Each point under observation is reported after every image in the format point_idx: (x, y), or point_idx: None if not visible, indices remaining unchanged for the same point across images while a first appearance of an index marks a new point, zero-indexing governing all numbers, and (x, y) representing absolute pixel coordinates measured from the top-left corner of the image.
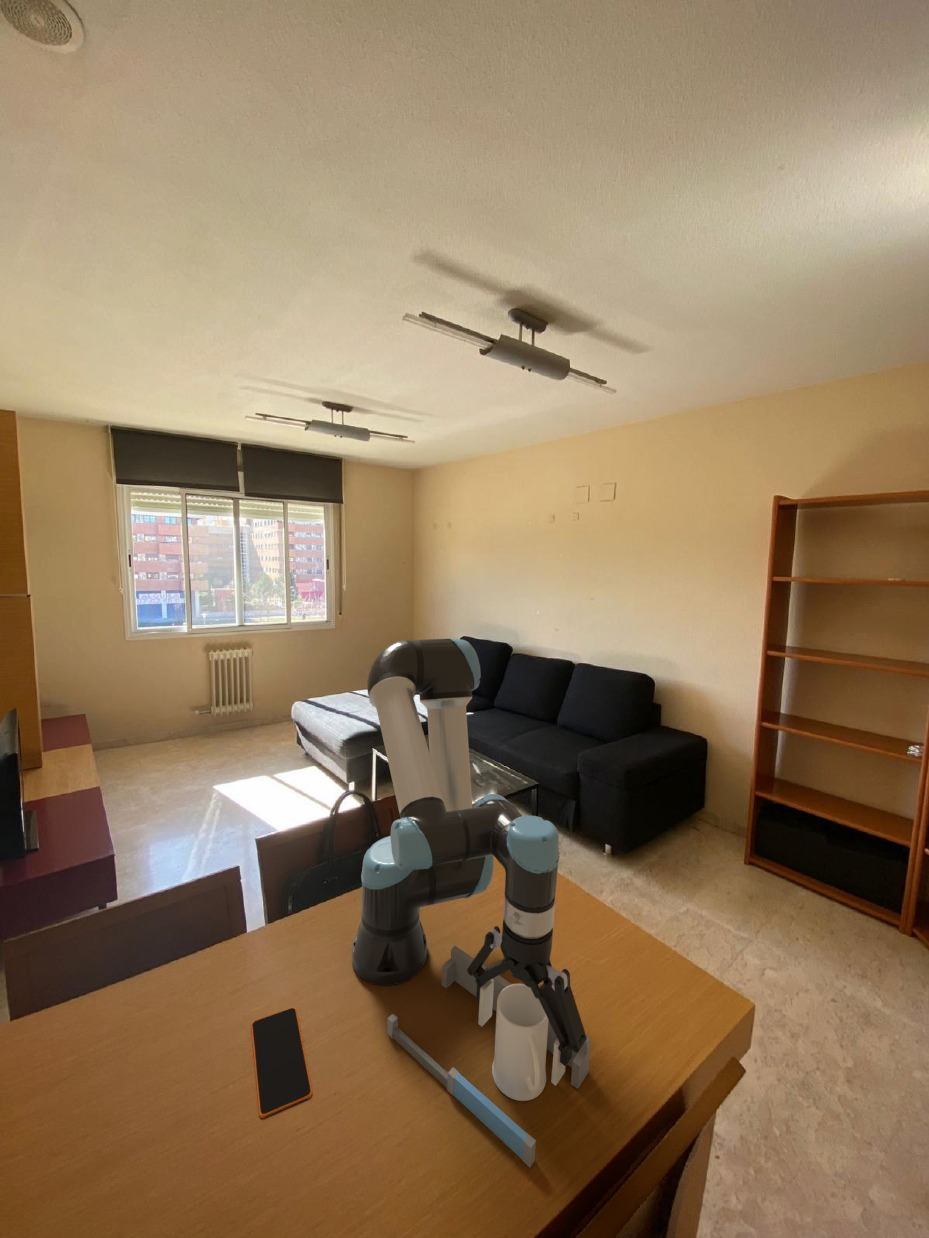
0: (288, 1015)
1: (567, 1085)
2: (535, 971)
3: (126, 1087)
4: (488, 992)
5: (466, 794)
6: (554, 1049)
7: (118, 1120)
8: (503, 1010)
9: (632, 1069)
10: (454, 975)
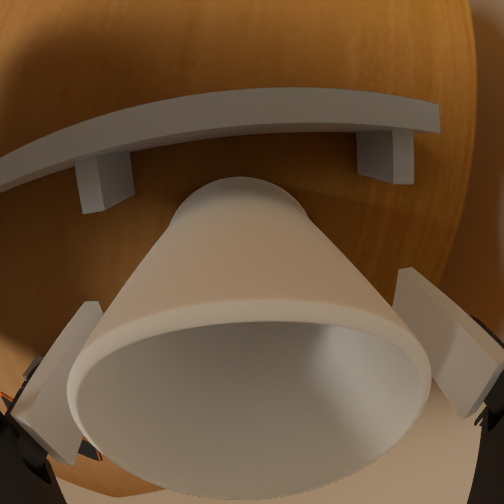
0: (8, 402)
1: (352, 183)
2: None
3: (53, 463)
4: (63, 419)
5: None
6: (451, 399)
7: (74, 474)
8: (134, 358)
9: (426, 52)
10: None
